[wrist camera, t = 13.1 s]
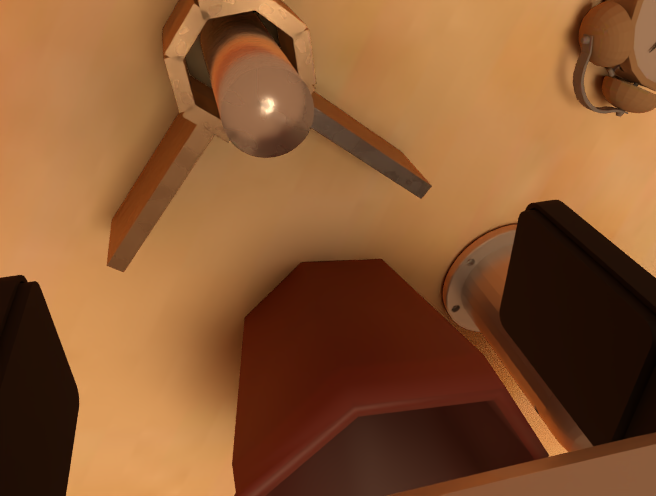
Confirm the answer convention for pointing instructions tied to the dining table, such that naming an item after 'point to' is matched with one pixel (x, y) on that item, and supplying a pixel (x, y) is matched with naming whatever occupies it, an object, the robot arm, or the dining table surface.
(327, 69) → the dining table surface
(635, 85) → the alarm clock
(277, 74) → the hinge pin
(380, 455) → the bucket
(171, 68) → the hinge
